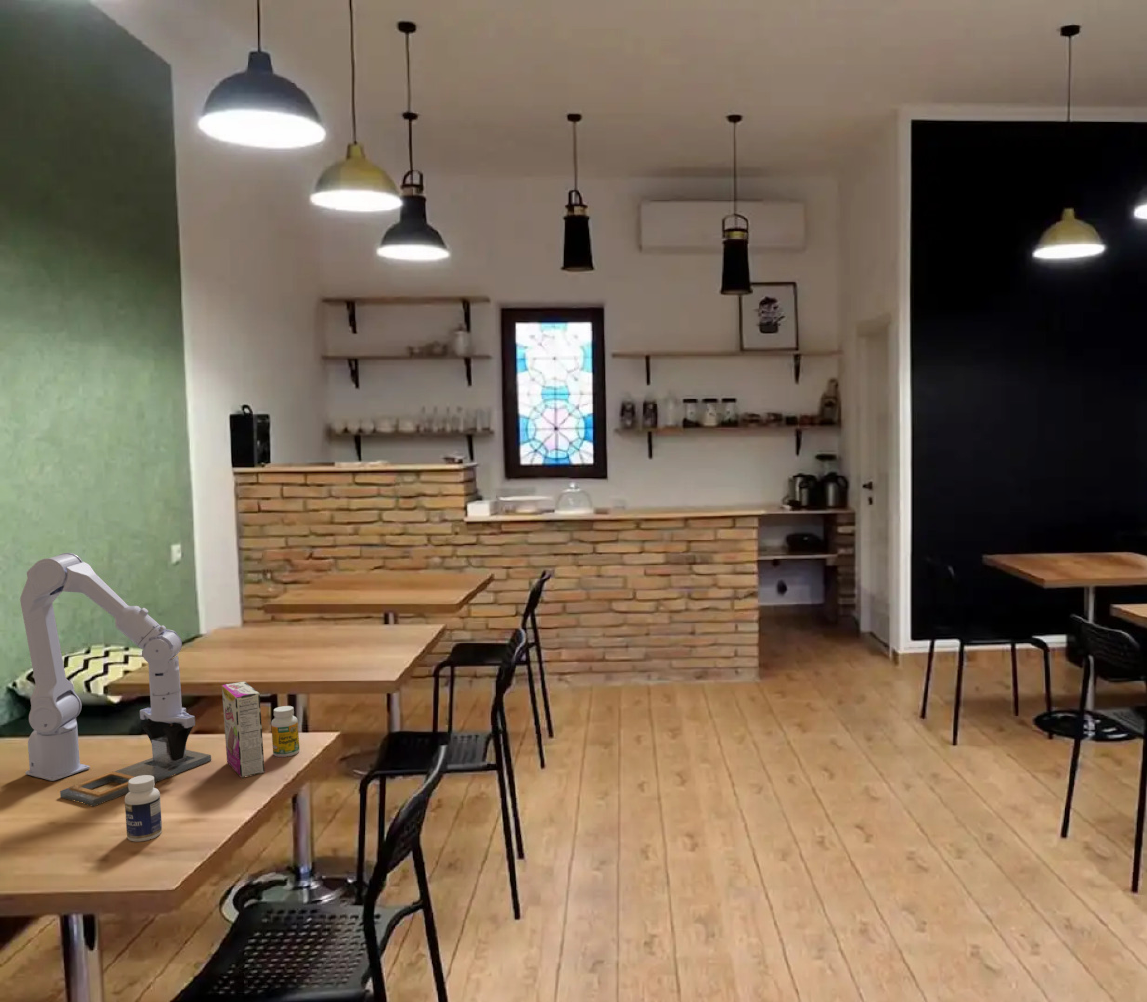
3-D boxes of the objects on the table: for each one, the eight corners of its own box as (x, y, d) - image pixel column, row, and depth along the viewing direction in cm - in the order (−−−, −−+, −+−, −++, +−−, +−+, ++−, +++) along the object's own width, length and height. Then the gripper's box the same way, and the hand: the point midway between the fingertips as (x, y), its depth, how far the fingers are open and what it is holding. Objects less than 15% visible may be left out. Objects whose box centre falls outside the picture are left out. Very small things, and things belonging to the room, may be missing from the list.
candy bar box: (225, 763, 192) (220, 684, 191) (250, 757, 195) (245, 680, 193) (239, 779, 183) (234, 696, 181) (265, 773, 185) (261, 691, 184)
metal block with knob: (153, 768, 190) (151, 738, 189) (172, 761, 194) (170, 731, 193) (167, 771, 188) (165, 741, 187) (187, 764, 192) (185, 734, 191)
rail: (60, 797, 176) (60, 789, 176) (179, 753, 198) (178, 746, 198) (93, 806, 171) (92, 798, 171) (211, 760, 193) (210, 753, 193)
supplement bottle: (295, 747, 200) (292, 703, 200) (302, 753, 196) (300, 709, 195) (269, 752, 197) (267, 707, 197) (277, 759, 193) (274, 713, 192)
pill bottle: (119, 841, 155) (116, 784, 155) (140, 828, 161) (136, 772, 160) (149, 843, 154) (145, 785, 154) (168, 829, 160) (165, 773, 159)
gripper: (206, 690, 189) (210, 756, 190) (159, 682, 197) (163, 746, 198) (176, 699, 183) (180, 767, 184) (129, 691, 190) (133, 756, 191)
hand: (169, 757), depth 191 cm, fingers closed on metal block with knob, 4 cm apart
